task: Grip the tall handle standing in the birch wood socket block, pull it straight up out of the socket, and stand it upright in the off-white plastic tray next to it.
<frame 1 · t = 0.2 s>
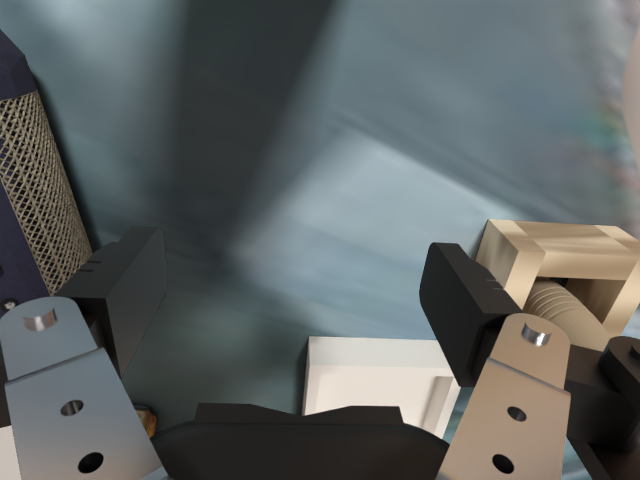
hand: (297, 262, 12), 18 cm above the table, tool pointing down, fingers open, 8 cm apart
tray: (371, 389, 41), on the table
portable speaker: (35, 191, 29), on the table
ornament: (130, 421, 42), on the table
socket block: (528, 283, 35), on the table
handle: (527, 281, 35), resting in socket block
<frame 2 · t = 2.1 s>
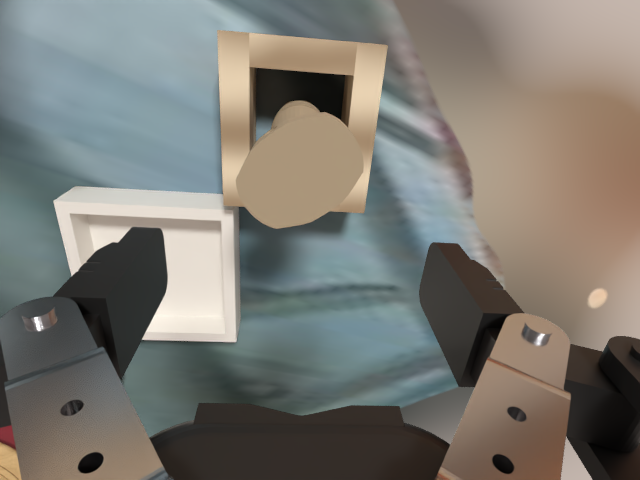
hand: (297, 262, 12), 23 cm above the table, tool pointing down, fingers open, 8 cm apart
tray: (166, 259, 38), on the table
canister: (63, 349, 43), on the table
socket block: (298, 118, 33), on the table
handle: (298, 118, 33), resting in socket block
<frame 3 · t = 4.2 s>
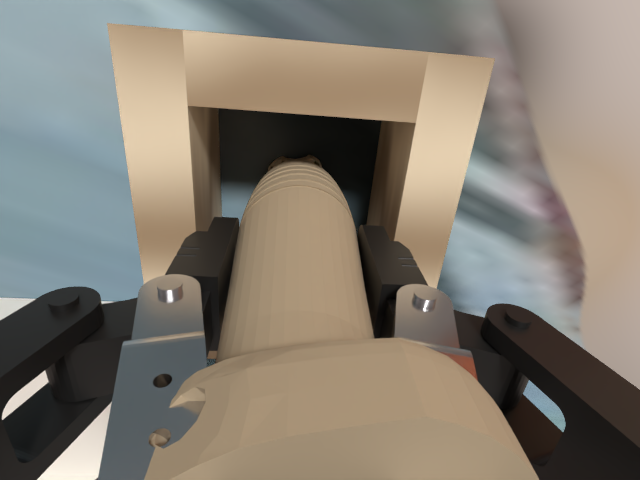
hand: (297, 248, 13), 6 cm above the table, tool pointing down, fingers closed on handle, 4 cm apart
tray: (83, 395, 24), on the table
socket block: (297, 185, 18), on the table
handle: (297, 183, 19), resting in socket block, touching gripper
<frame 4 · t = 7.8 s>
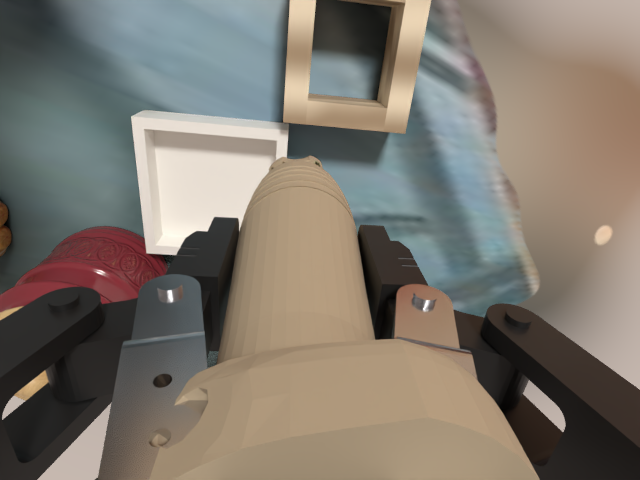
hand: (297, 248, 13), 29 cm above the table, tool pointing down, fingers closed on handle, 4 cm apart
tray: (219, 184, 42), on the table
canister: (117, 272, 47), on the table
socket block: (347, 51, 37), on the table
handle: (297, 184, 19), point 23 cm above the table, touching gripper
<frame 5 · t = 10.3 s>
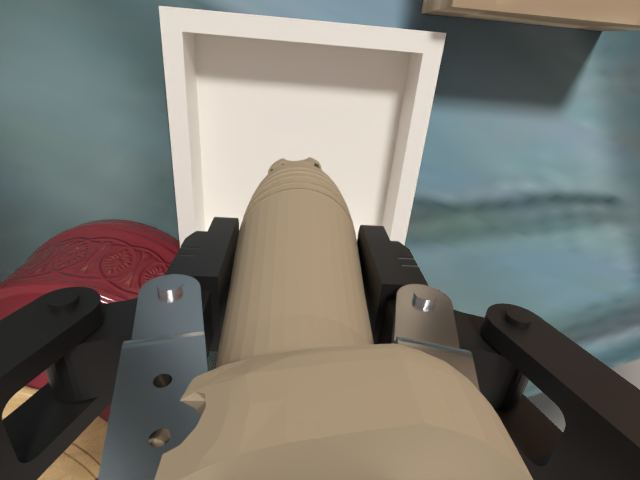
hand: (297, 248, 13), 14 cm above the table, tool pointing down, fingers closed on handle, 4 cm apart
tray: (298, 146, 25), on the table
canister: (132, 291, 30), on the table
handle: (297, 185, 19), point 8 cm above the table, touching gripper
when the fingers open (9 cm above the table, at t = 11.7 s): handle drops 1 cm, resting on tray.
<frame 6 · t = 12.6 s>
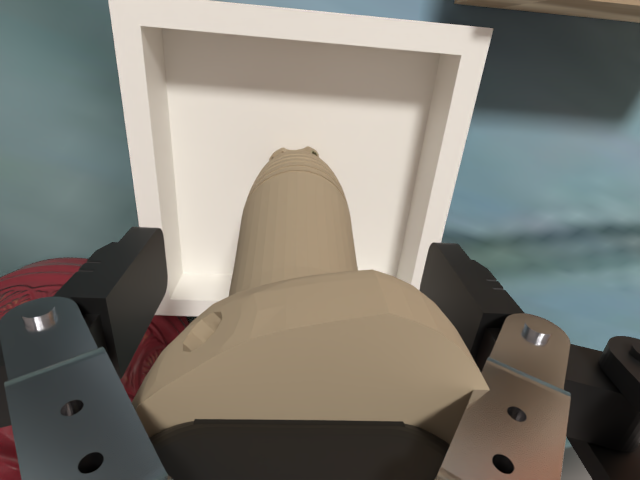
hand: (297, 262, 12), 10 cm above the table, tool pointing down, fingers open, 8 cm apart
tray: (297, 169, 21), on the table
canister: (98, 338, 25), on the table
handle: (296, 173, 20), point 1 cm above the table, touching tray
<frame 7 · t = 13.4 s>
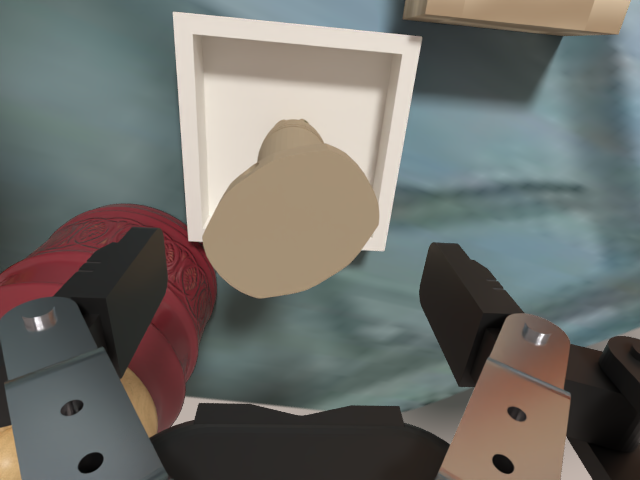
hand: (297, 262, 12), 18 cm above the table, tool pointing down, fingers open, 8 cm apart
tray: (294, 137, 28), on the table
canister: (141, 271, 33), on the table
handle: (293, 139, 28), point 1 cm above the table, touching tray
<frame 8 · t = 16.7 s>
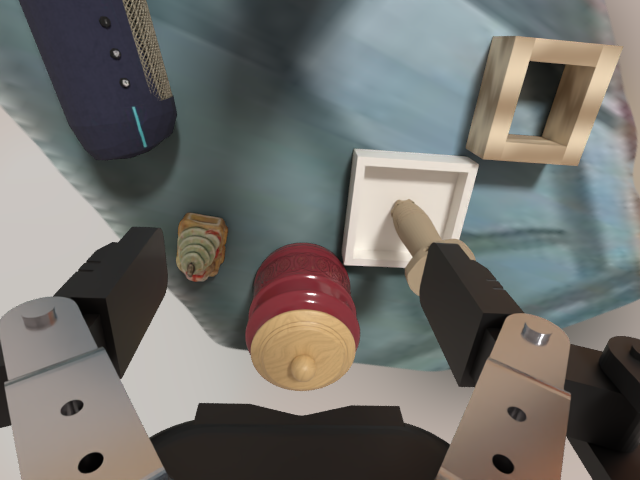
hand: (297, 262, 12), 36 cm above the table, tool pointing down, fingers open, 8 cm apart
tray: (401, 206, 51), on the table
portable speaker: (115, 19, 40), on the table
canister: (302, 280, 55), on the table
ornament: (205, 237, 52), on the table
socket block: (524, 99, 45), on the table
handle: (402, 208, 50), point 1 cm above the table, touching tray
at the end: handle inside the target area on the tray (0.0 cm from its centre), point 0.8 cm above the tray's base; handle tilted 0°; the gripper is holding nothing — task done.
